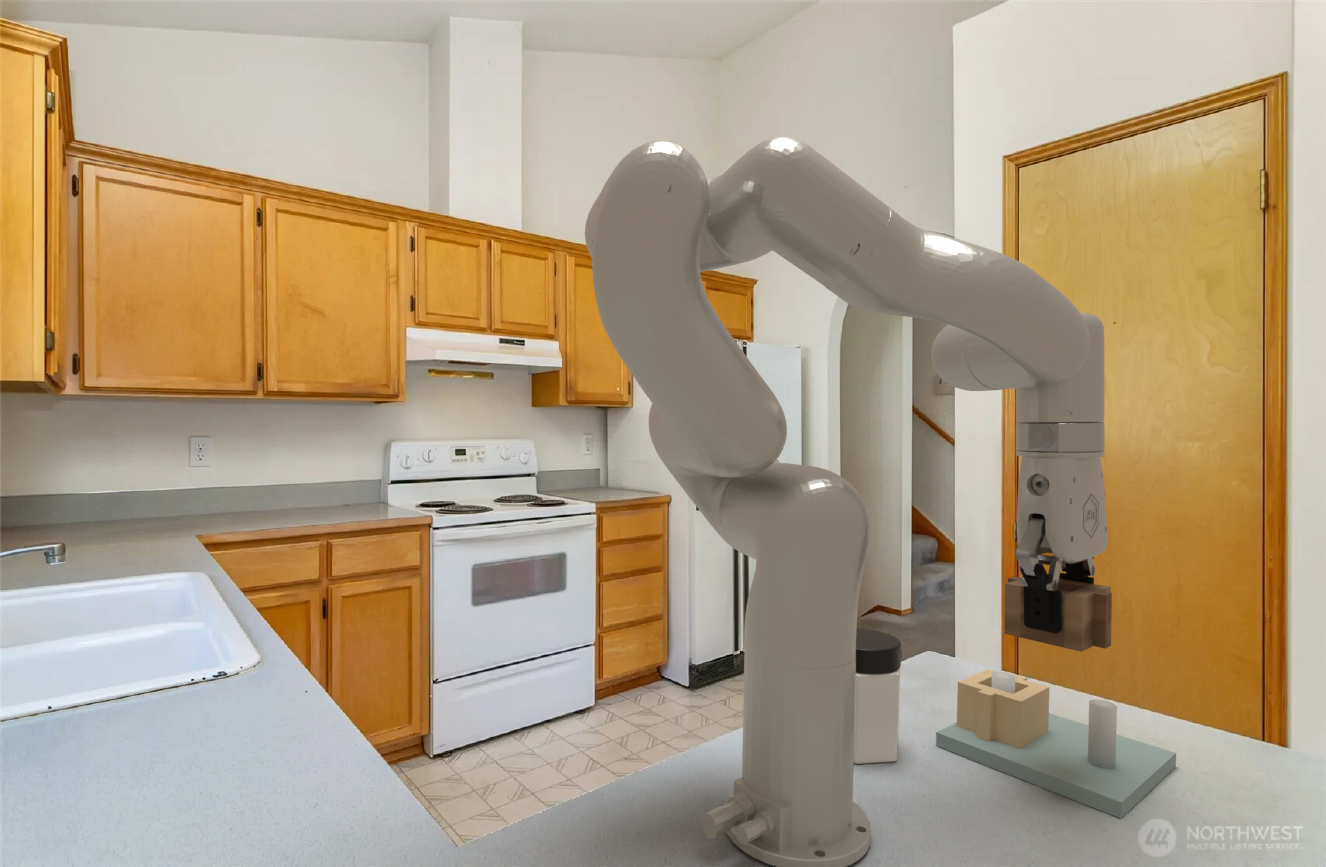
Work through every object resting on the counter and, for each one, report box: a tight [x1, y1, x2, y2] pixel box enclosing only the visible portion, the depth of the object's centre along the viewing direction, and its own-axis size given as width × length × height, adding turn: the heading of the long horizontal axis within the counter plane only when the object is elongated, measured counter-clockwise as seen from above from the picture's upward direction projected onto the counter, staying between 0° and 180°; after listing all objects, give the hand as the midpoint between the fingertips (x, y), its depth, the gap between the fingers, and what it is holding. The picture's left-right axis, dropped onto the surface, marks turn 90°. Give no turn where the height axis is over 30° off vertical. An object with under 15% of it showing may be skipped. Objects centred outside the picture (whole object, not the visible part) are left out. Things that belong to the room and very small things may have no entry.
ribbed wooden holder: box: [1003, 576, 1113, 653], centre depth 69 cm, size 7×9×5 cm
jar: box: [854, 627, 903, 765], centre depth 77 cm, size 9×8×12 cm
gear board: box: [935, 669, 1177, 820], centre depth 75 cm, size 16×18×8 cm
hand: (1059, 620), depth 68 cm, fingers closed on ribbed wooden holder, 7 cm apart
